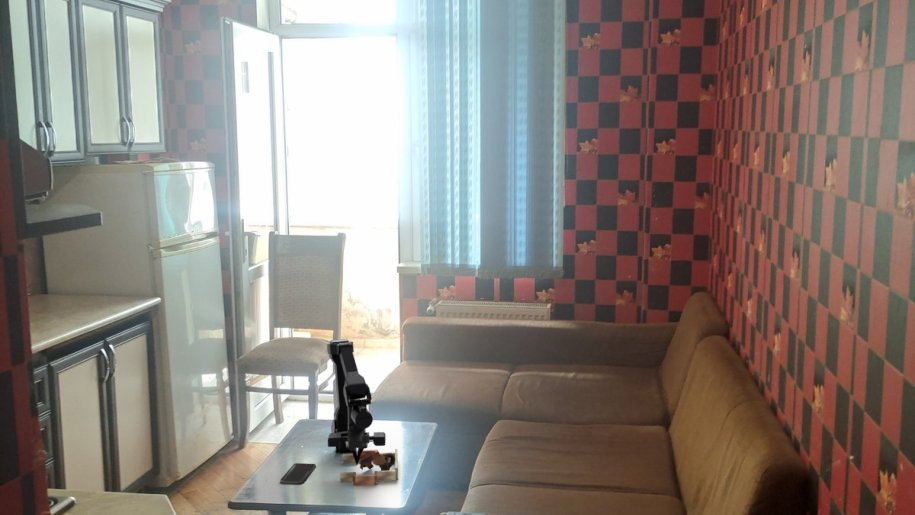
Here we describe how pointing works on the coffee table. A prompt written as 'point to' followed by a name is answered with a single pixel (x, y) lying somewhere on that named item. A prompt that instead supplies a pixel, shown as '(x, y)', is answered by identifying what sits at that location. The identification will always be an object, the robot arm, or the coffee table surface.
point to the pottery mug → (378, 461)
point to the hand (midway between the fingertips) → (357, 464)
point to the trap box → (368, 478)
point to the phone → (298, 473)
